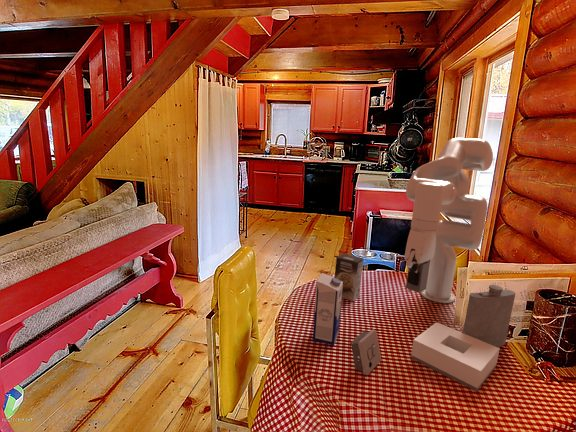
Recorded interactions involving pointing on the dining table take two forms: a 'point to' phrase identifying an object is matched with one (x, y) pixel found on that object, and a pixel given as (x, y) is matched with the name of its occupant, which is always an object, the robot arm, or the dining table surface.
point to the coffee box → (349, 275)
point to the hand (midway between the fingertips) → (416, 281)
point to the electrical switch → (366, 351)
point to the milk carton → (327, 309)
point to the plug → (420, 278)
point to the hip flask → (489, 315)
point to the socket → (455, 355)
